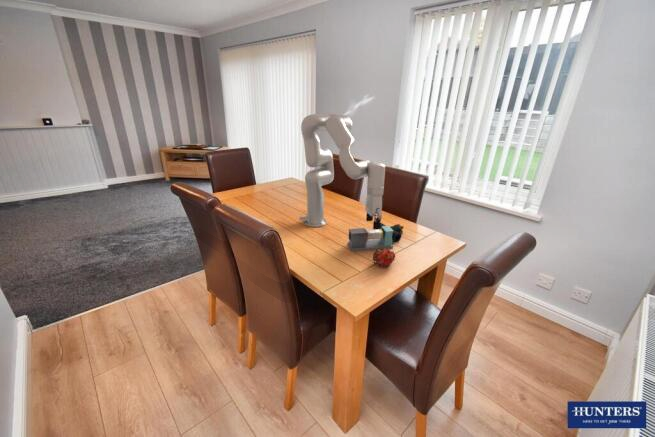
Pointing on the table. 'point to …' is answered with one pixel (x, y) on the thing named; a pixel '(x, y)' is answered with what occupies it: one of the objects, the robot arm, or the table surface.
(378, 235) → the inner tube
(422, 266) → the table surface
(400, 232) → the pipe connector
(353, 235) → the outer sleeve
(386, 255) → the dragon fruit
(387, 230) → the socket block
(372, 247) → the base board
